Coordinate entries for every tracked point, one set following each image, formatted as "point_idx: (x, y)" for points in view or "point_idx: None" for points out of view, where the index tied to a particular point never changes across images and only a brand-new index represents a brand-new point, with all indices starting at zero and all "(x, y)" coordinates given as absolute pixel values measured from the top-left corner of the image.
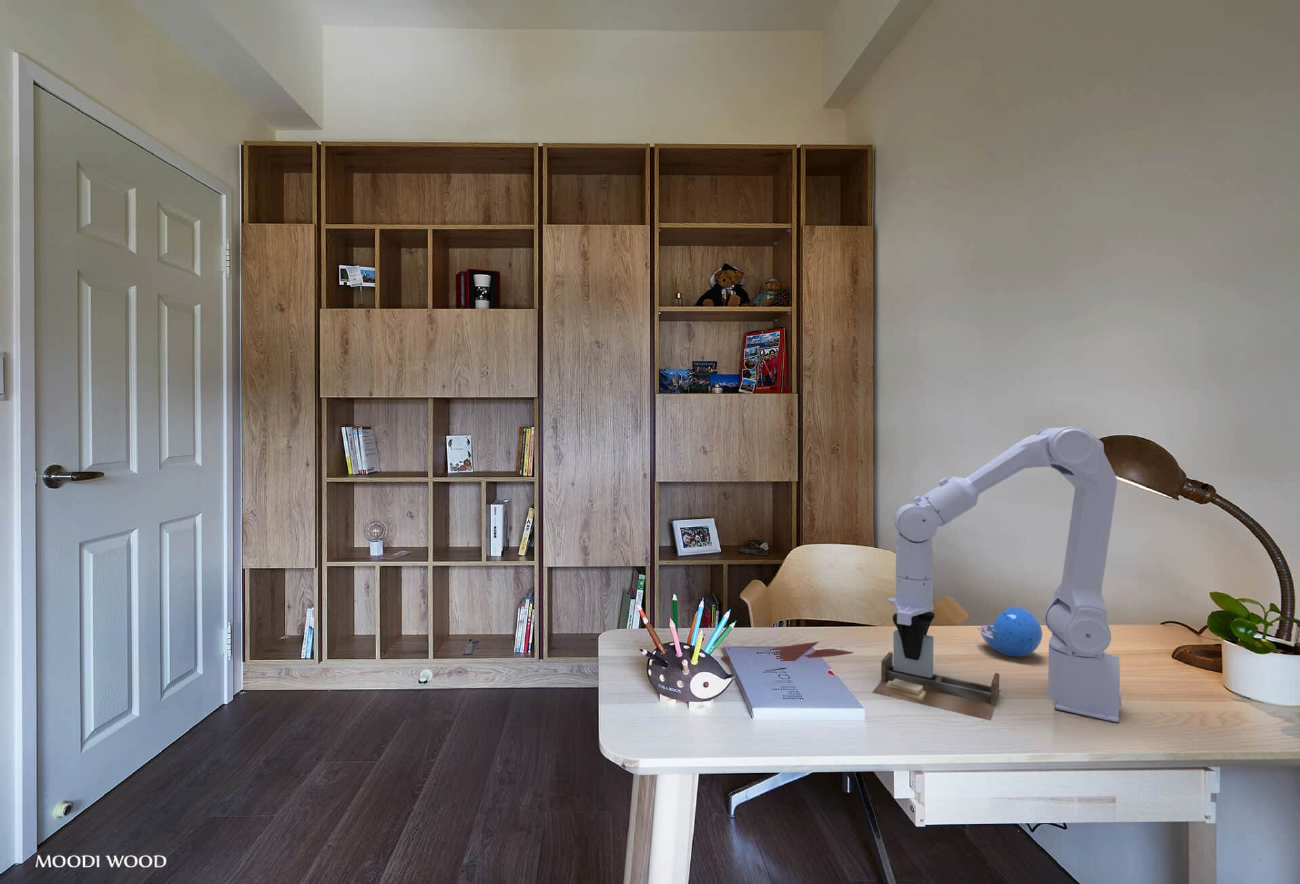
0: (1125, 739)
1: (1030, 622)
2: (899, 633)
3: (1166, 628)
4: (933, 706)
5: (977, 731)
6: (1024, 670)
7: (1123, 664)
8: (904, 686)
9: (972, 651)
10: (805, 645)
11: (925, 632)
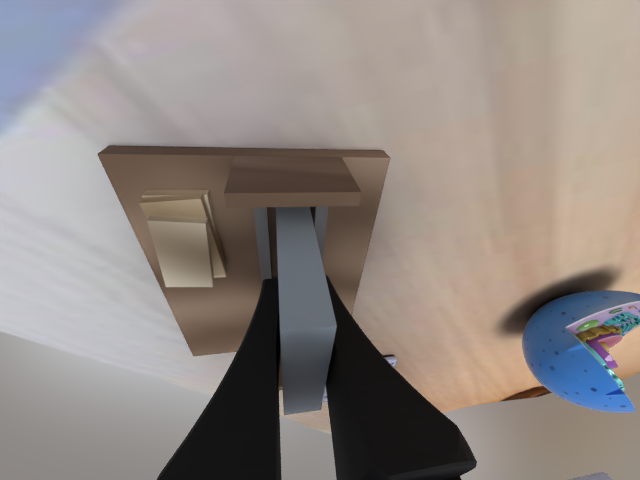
0: (280, 404)
1: (568, 401)
2: (223, 379)
3: (628, 374)
4: (165, 295)
5: (158, 338)
6: (473, 328)
7: (511, 374)
8: (160, 257)
9: (571, 265)
10: None
11: (329, 407)
